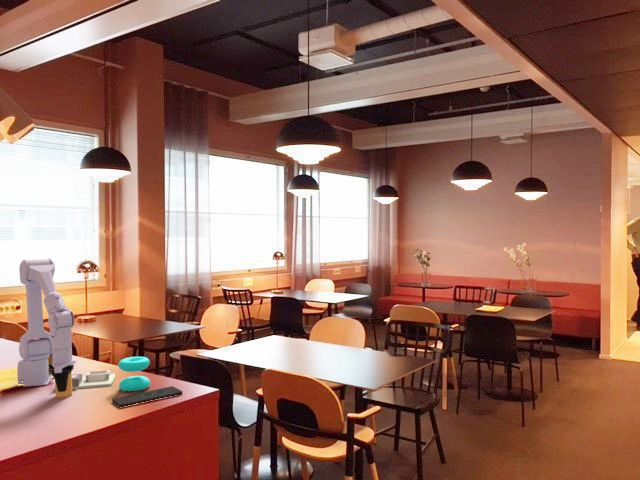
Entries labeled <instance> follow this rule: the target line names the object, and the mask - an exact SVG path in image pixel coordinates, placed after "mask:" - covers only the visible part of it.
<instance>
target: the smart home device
mask: <svg viewBox="0 0 640 480" xmlns="http://www.w3.org/2000/svg"><path fill="white" fill-rule="evenodd" d="M181 394H182V395H183V390H181V389H179V388H177V387H175V386H167V387H161V388H157V389H152V390H146V391H143V392H137V393H133V394H128V395H122V396H118V397H114V398H112V399H111V401H112V402H113V403H115V404H116V405H118V406H119V407H124V406H128V405H133V404H136V403H141V402H146V401H150V400H155V399H159V398H164V397H169V396H175V395H180V396H182V395H181ZM175 397H176V396H175ZM113 403H112V404H113ZM115 404H114V405H115ZM116 405H115V406H116ZM118 406H117V407H118ZM119 407H118V408H119Z"/></svg>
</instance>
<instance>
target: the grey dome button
mask: <svg viewBox="0 0 640 480" xmlns="http://www.w3.org/2000/svg"><path fill="white" fill-rule="evenodd" d="M82 376H83V373H76V374H75V373H74V374H73V373H72V387H76V386H79V385H80V384H81V382H82Z"/></svg>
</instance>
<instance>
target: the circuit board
mask: <svg viewBox="0 0 640 480" xmlns="http://www.w3.org/2000/svg"><path fill="white" fill-rule="evenodd" d="M116 377H117V373H115V372H114V373H111V376H110V378H109V380H100V381H88V382H86V375H82V382H81V384H80V385H79V386H76V387H72V390H77V389H90V388H101V387H112V386H113V384H114V381H115V379H116ZM54 391H55V392H56V389H55V388H54Z"/></svg>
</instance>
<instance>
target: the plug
mask: <svg viewBox="0 0 640 480" xmlns="http://www.w3.org/2000/svg"><path fill="white" fill-rule="evenodd" d="M72 375H73V373H72V372H71V373H69V376H68V380H67V388H66V391H63V392H58V389H57V385H56V381H55V380H54V381H55V382H54V390H55V389H56V391H55V399H56V398H65V397H66V398H67V397H70V396H73V389H72Z"/></svg>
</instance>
